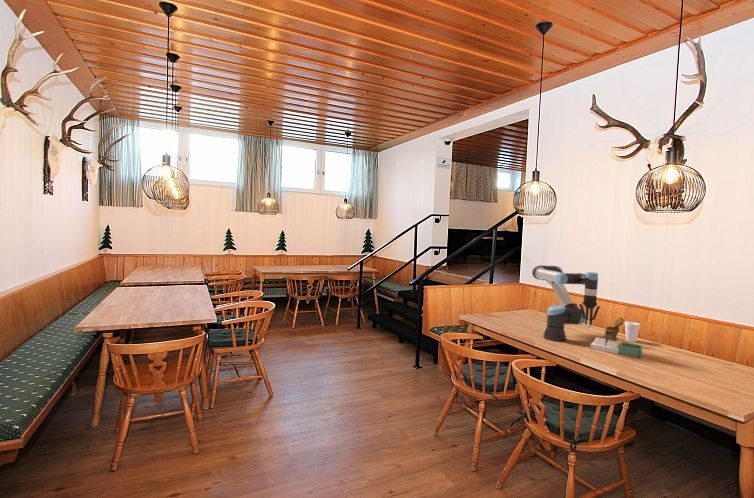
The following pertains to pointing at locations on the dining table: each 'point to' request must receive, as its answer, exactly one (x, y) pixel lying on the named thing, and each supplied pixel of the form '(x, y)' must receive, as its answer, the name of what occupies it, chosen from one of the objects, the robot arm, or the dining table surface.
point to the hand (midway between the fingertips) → (588, 329)
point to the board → (604, 348)
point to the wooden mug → (613, 330)
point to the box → (630, 350)
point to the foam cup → (631, 331)
